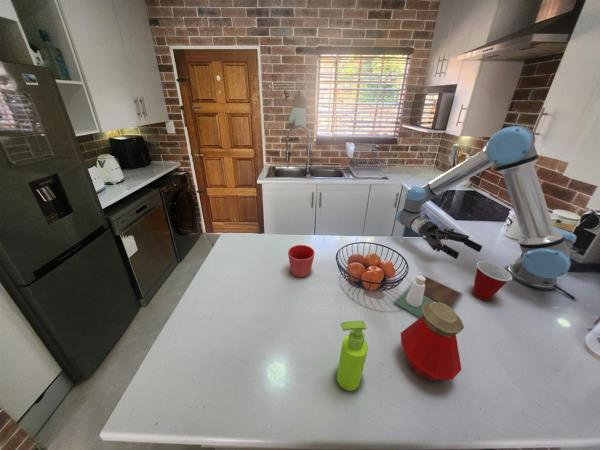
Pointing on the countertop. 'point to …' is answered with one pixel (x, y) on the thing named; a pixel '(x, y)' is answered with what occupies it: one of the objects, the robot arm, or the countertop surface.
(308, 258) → the flower pot
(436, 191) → the robot arm
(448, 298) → the walnut pad
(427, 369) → the bottle
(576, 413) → the countertop surface
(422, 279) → the pepper shaker
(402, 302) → the sage mat
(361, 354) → the soap dispenser
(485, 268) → the plastic cup
